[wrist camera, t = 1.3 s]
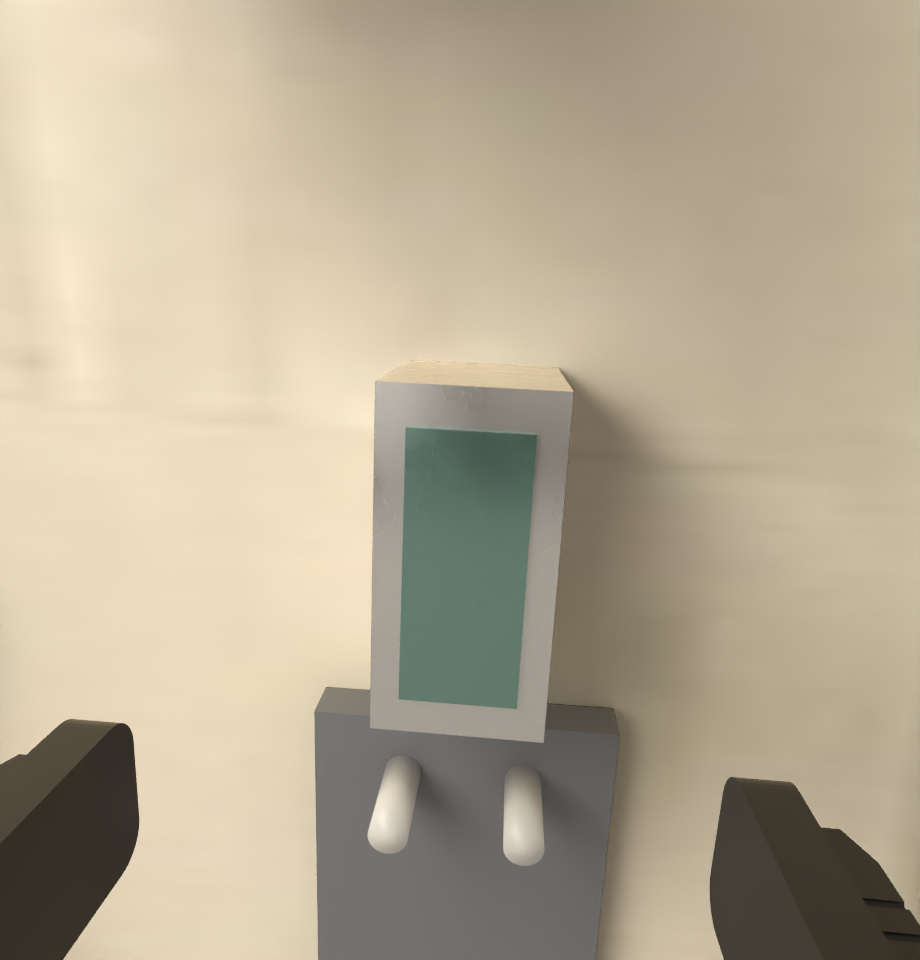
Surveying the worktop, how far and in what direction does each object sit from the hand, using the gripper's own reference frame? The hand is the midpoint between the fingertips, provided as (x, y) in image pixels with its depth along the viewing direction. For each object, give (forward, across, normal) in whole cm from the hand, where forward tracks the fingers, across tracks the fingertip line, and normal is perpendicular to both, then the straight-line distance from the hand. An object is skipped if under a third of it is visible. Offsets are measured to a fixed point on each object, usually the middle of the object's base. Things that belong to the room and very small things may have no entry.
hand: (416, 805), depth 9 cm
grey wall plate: (+14, 0, +15) cm, 20 cm away
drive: (+14, 0, 0) cm, 14 cm away
